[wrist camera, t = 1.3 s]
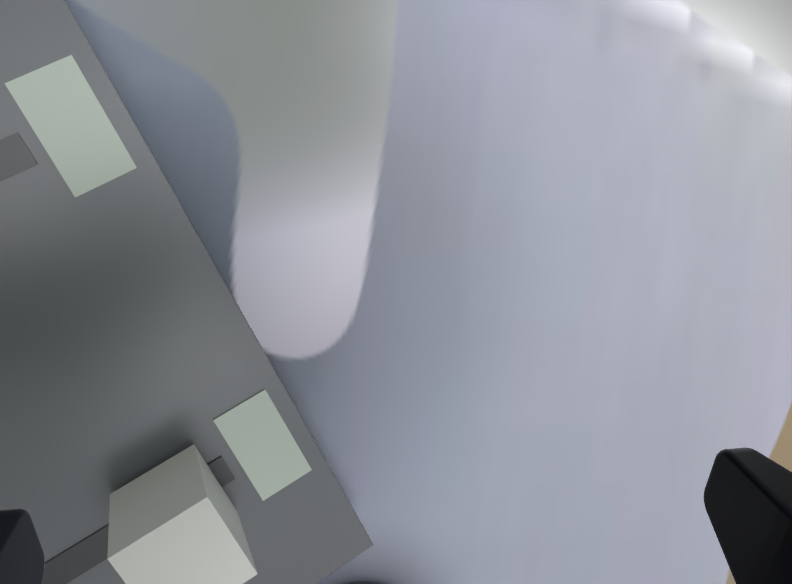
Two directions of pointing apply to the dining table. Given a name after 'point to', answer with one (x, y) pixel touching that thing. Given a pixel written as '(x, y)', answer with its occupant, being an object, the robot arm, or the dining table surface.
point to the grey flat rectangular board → (129, 332)
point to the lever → (177, 527)
